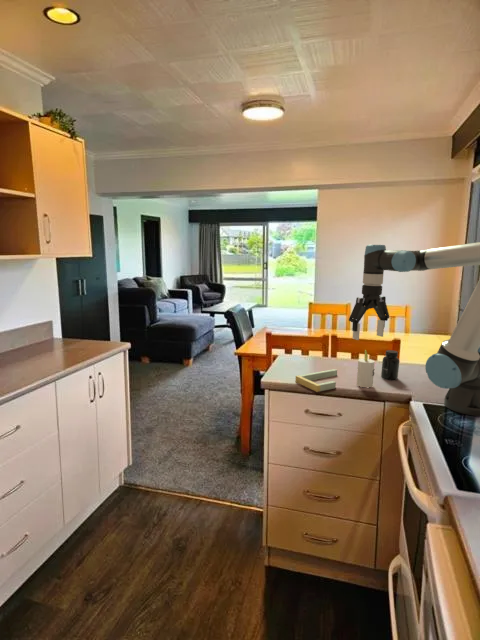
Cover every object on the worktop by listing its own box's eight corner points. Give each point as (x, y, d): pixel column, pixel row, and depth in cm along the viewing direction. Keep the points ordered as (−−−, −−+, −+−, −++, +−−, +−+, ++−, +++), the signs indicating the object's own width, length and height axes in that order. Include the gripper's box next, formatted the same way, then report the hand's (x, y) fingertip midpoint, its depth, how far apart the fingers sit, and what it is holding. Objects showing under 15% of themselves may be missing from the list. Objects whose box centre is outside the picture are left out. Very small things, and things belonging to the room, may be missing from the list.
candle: (369, 389, 161) (372, 352, 159) (354, 385, 165) (356, 350, 163) (375, 385, 166) (378, 349, 164) (359, 381, 170) (362, 347, 168)
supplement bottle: (379, 379, 175) (382, 352, 172) (382, 374, 180) (384, 348, 178) (396, 381, 171) (399, 354, 169) (398, 377, 177) (401, 350, 175)
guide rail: (357, 383, 168) (357, 377, 168) (316, 391, 157) (317, 385, 157) (334, 374, 180) (334, 369, 179) (295, 381, 169) (295, 375, 169)
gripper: (386, 282, 168) (382, 332, 172) (341, 284, 156) (338, 338, 160) (401, 284, 161) (396, 336, 165) (356, 286, 149) (352, 342, 153)
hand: (367, 337), depth 162 cm, fingers open, 13 cm apart
